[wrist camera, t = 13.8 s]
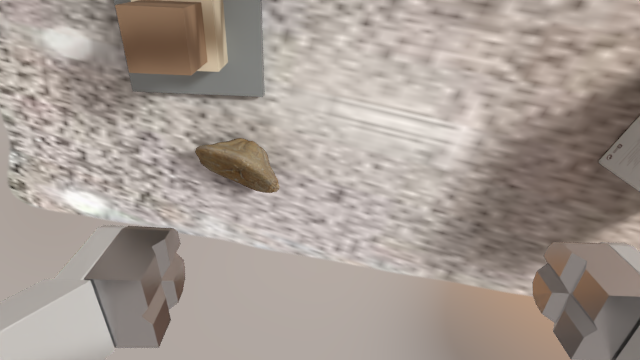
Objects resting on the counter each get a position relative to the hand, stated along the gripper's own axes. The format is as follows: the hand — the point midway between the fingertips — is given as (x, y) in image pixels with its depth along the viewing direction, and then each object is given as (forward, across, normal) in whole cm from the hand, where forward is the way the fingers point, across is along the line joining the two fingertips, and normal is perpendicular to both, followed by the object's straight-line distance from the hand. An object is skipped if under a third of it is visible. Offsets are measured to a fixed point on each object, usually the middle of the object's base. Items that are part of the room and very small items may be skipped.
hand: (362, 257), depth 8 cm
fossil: (+34, +10, +15) cm, 39 cm away
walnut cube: (+29, +14, 0) cm, 32 cm away
